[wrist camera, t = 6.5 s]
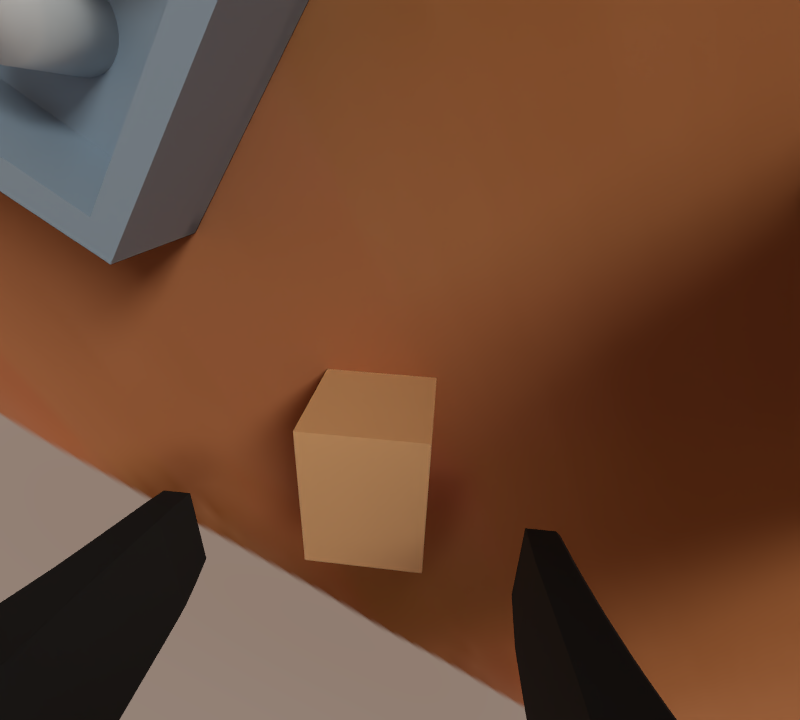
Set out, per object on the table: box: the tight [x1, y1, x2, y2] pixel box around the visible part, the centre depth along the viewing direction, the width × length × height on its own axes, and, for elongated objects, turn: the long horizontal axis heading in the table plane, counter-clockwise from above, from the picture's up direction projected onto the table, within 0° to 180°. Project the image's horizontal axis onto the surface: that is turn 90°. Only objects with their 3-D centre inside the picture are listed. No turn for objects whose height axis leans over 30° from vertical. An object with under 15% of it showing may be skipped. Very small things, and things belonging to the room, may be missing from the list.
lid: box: [293, 369, 437, 573], centre depth 12 cm, size 12×8×4 cm
